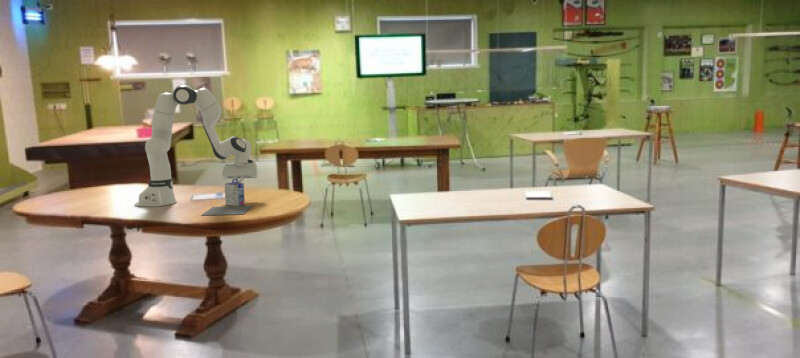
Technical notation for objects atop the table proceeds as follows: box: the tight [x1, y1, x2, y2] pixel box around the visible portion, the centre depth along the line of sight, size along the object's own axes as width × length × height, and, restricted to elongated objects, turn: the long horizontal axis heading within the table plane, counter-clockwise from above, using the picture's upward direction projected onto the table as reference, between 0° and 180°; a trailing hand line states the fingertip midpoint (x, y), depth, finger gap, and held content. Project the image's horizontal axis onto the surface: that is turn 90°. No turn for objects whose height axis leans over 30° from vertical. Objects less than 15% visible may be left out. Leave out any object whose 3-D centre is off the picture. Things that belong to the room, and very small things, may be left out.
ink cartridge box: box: [224, 179, 246, 206], centre depth 358 cm, size 10×6×14 cm, turn 65°
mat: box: [201, 205, 253, 217], centre depth 344 cm, size 22×20×1 cm
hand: (238, 183), depth 367 cm, fingers closed
